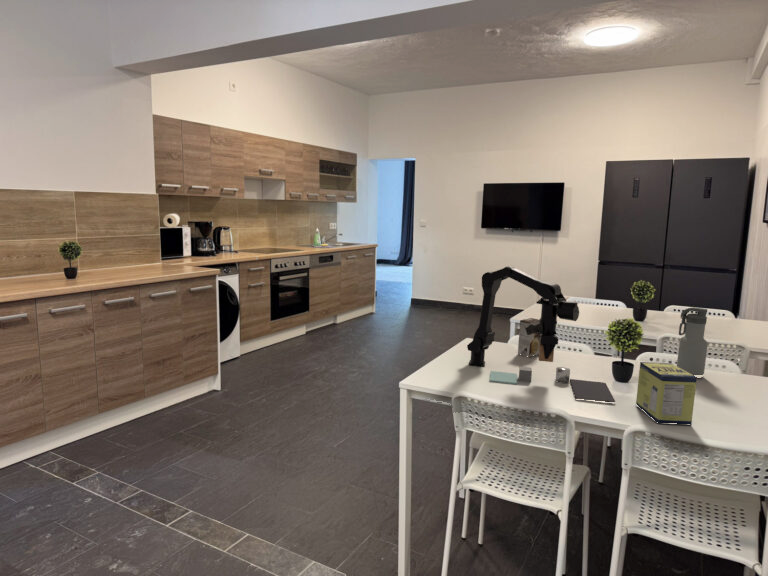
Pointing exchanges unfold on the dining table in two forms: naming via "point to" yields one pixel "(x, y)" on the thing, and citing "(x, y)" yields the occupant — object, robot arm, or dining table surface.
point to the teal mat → (503, 377)
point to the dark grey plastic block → (525, 374)
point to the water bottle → (693, 342)
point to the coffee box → (528, 339)
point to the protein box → (666, 392)
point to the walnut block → (541, 354)
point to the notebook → (591, 390)
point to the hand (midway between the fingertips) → (545, 356)
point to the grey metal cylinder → (562, 374)
